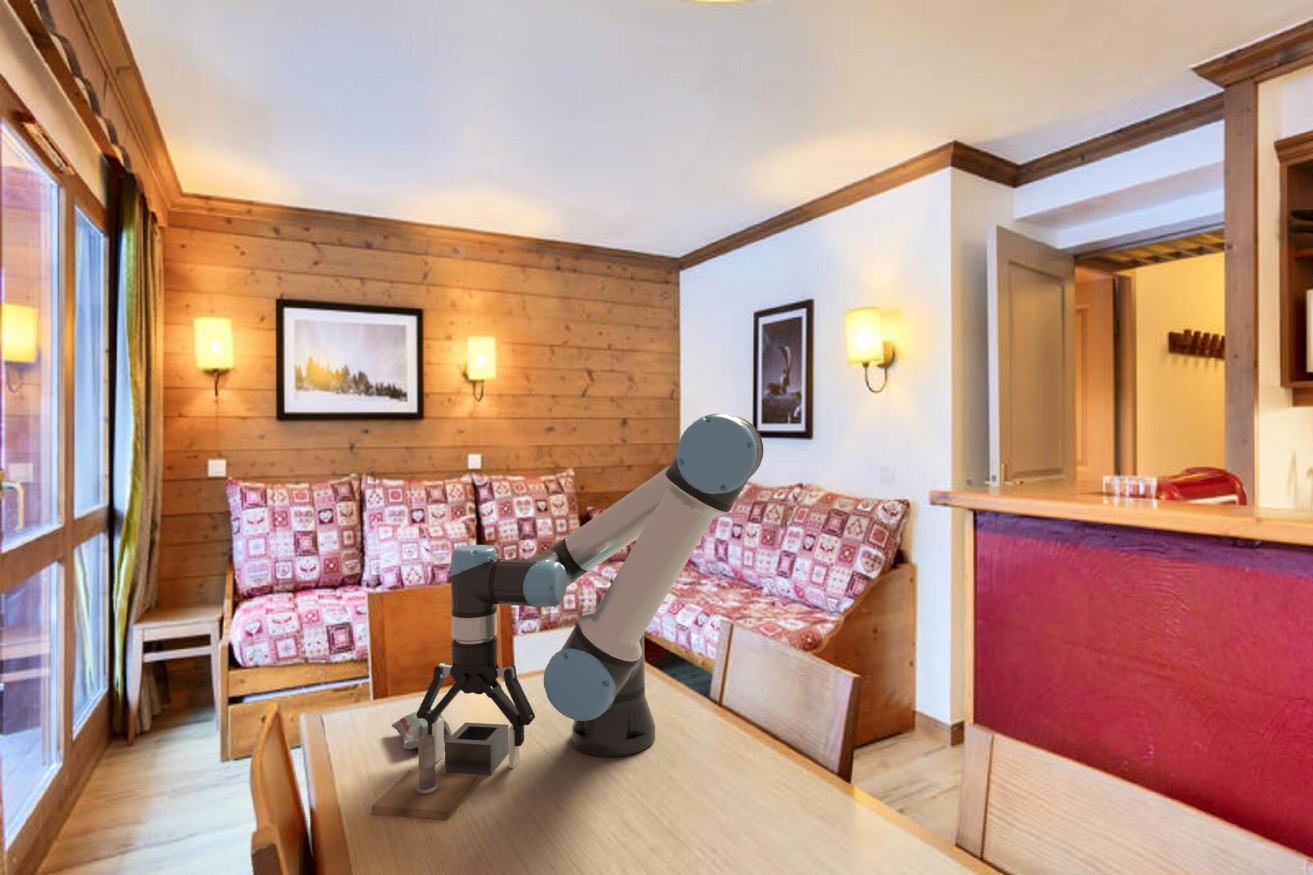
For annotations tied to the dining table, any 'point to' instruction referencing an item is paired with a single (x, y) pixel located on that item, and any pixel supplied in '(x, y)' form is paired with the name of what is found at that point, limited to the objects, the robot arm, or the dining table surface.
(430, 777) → the stand
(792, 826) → the dining table surface
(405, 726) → the packaged food
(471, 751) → the link
